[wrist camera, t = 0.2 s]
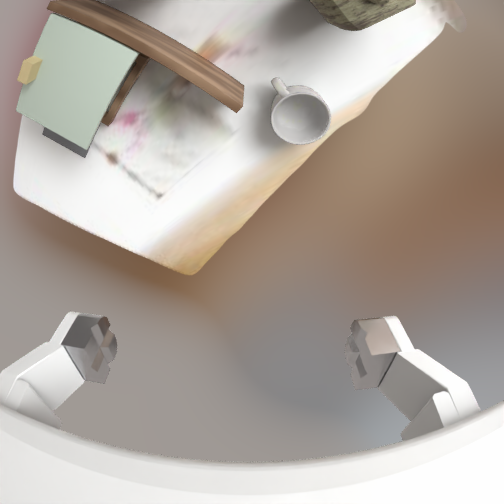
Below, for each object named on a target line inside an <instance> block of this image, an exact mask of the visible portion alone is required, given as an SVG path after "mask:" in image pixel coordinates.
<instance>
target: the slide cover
mask: <svg viewBox="0 0 504 504" xmlns="http://www.w3.org/2000/svg"><path fill="white" fill-rule="evenodd" d="M138 55H139V52H137V51H135V50H134V49H132V48H130V47H128V46H126V45H124V44H122V43H120V42H118V41H116V40H114V39H112V38H110V37H108V36H106V35H104V34H102V33H100V32H98V31H96V30H94V29H92V28H89V27H87V26H85V25H83V24H80V23H78V22H76V21H73V20H71V19H69V18H66V17H64V16H61V15H59V14H56V13H51V15H50V17H49V19H48V21H47V23H46V25H45V27H44V29H43V32H42V34H41V36H40V39H39V41H38V43H37V46H36V48H35V51H34V54H33V56H32V57H30V58H28V59H25V60H24V61H23V64H22V67H21V70H20V73H19V76H18V79H17V80H18V81H19V82H21V83H23V86H22V89H21V93H20V97H19V100H18V104H17V108H16V111H17V112H19V113H21V114H23V115H24V116H26V117H28V118H30V119H32V120H33V121H35V122H37V123H39V124H41V125H42V126H44V127H46V128H48V129H50V130H52V131H53V132H55V133H57V134H59V135H61V136H62V137H64V138H66V139H68V140H70V141H71V142H73V143H75V144H77V145H79V146H80V147H82V148H84V149H86V150H87V149H88V148H89V146H90V144H91V142H92V139H93V137H94V135H95V133H96V131H97V128H98V126H99V124H100V122H101V120H102V118H103V116H104V114H105V112H106V110H107V108H108V106H109V104H110V102H111V100H112V99H113V97H114V95H115V93H116V91H117V89H118V88H119V86H120V84H121V82H122V81H123V79H124V77H125V76H126V74H127V72H128V71H129V69H130V67H131V66H132V64H133V62H134V61H135V59H136V58H137V56H138Z"/></svg>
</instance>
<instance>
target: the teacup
mask: <svg viewBox="0 0 504 504" xmlns="http://www.w3.org/2000/svg"><path fill="white" fill-rule="evenodd" d="M271 83H272V85H273V87H274V88H275V90H276V91H277V92H278V94H277V95H276V97H275V98H274V100H273V103H272V107H271V125H272V128H273V130H274V132H275V133H276V134H277V135H278V136H279V137H280V138H281V139H282V140H284V141H286V142H288V143H292V144H297V145H302V144H309V143H312V142H315V141H317V140H318V139H320V138H321V137H322V136H323V135H324V134H325V133H326V132H327V130H328V128H329V126H330V122H331V114H330V110H329V108H328V106H327V104H326V103H325V102H324V100H323V99H322V98H321V96H320V95H319V94H318V93H317V92H316V91H314V90H313V89H311V88H309V87H306V86H301V85H295V86H290V87H286V86H285V85H284V83H283V82H282V81H281V80H280V78H278V77H276V78H274V79H272V81H271Z"/></svg>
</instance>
